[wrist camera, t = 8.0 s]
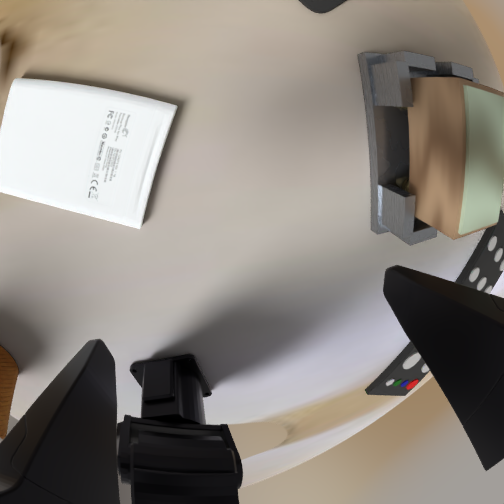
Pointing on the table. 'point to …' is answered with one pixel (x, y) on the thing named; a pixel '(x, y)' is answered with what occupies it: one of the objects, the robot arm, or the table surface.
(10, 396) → the disposable coffee cup
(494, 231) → the remote control
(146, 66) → the table surface
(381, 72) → the chassis
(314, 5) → the phone
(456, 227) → the brown and green block
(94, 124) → the external hard drive
